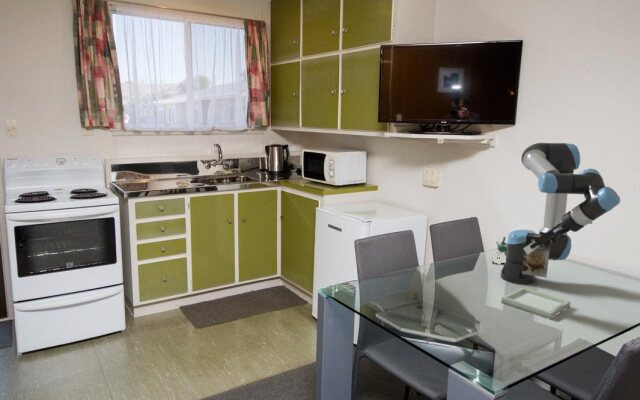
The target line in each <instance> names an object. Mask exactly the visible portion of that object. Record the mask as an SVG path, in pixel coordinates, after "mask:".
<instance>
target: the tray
mask: <svg viewBox="0 0 640 400" xmlns="http://www.w3.org/2000/svg"><path fill="white" fill-rule="evenodd" d="M500 303H501V304H503V305H505V306H506V305H507V306H509V307H512V308H515V309H518V310H521V311H524V312H526V311H527V313H529V312H530V314H532V313H534V314H533V315H535V314H537V315H536V316H538V315H540V316H539V317H541V316H543V317H542V318H544V317H546V318H545V319H547V318H549V319H548V320H551V318H552V317H553V316H555V315H556V314H557V313H559V312H561V311H563V310H564V309H566V308H568V307H570V308H571V301H569V300H567V299H563V298H561V297H560V298H559V297H556V296H554V295H550V294H547V293H543V292H540V291H537V290H533V289H531V288H528V287H520V288H518V289H516V290H514V291H512V292H510V293H507V294H506V295H503V296H502V297H501V301H500ZM568 309H569V308H568ZM566 310H567V309H566ZM563 312H564V311H563ZM561 313H562V312H561ZM555 317H556V316H555ZM553 318H554V317H553ZM553 318H552V319H553Z"/></svg>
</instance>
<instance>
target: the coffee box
mask: <svg viewBox="0 0 640 400" xmlns="http://www.w3.org/2000/svg"><path fill="white" fill-rule="evenodd" d="M535 233H536V232H535ZM535 233H527V236H526V244H525V247H526V246H528V245H529V244H531V243H532V242H534V239H535V238H536V239H537V238H539V237H540V236H542V234H539V233H536V234H535ZM550 244H551V239H550V240H548V241H547V242H545V243H543V244H542V245H541V246H540V247H538V248H537V249H535V250H534V251H532V252H531V253H529V254H527V253H526V252H525V253H524V262H523V270H522V274H528V275H534V276H535V277H541V278H547V275H548V267H549V261H550V260H549V252H550Z"/></svg>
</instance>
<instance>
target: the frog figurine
mask: <svg viewBox="0 0 640 400" xmlns="http://www.w3.org/2000/svg"><path fill="white" fill-rule="evenodd" d="M495 243H496V246H497V252H496V254H497V256H499V255H502V253H504V255H505V256H506V254H507V243H506V237H505V236H503V239H502V241H501V242H499V241H496V242H495ZM498 252H499V253H498ZM497 259H498V257H497ZM499 259H500V257H499Z"/></svg>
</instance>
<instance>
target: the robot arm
mask: <svg viewBox="0 0 640 400" xmlns="http://www.w3.org/2000/svg"><path fill="white" fill-rule="evenodd" d="M520 160H521V163H522V166H524V167H525V169H527V170H528V171H531V172H532V173H533V174H534V176H536V178H537V179H538V181H537V187H538V190H539V192H540V193H543V194H544V193H545V194H546V195H545V206H544V207H545V208H544V219H543V226H542V228H540V229H539V233H538V234H542V236H540V237H539V238H537V239H536V238H535V239H534V242H532V243H531V244H529V245H528V246H526V247H525V244H526V236H527V233H535V234H537V233H536V231H534V230H530V229H517V230H516V229H515V230H513V231H511V232H509V233H508V237H507V241H506V242H507V243H506V244H507V254H506V255H505V256H506V262H505V263H504V264H503V267H502V268H501V271H500V278H501V279H502V280H504V281H506V282H509V283H513V284H517V285H518V284H519V285H529V284H533V283H535V282H536V281H535V280H536V276H534V275H528V274H522V270H523V262H524V253H525V252H526V253H527V254H529V253H531V252H532V251H534V250H535V249H537V248H538V247H540V246H541V245H542V244H543V243H545V242H547V241H548V240H550V239H551V244H550V252H549V261H565V260H566V259H567V258H568V257H569V255H570V253H571V249H572V239H571V236H569V235H568V232H570V231H571V232H574V233H576V232H578V231H580V230H581V229H584V227H585V226H587V225H589V224H590V225H592V224H593V221H596V220H597V219H599V218H600V217H601V216H603V215H605V214H607V212H610V211H612V210H614V208H615V207H617V206H618V205H619V204H620V203H621V197H620V196H619V195H618V192H617V191H615V189H613V188H612V187H610V186H606V184H605V181H604V178H603V176H602V175H601V172H599V171H598V170H597V169H595V168H587V169H584V170H581V171H580V172H579V173H574V172H575V171H576V170H578V169H579V167H580V164H581V154H580V150H579V148H578V146H577V145H575V144H573V143H568V142H567V143H565V142H564V143H563V142H554V143H553V142H538V143H533V144H531V145H529V146H528V147H526V148H525V149H524V151H523V152H522V154H521V159H520ZM568 195H583V197H584V201H582V202H581V203H579V204H578V205H576V206H574V207H573V208H572V209H571V210H569V211H567V204H568V203H567V202H568ZM534 281H535V282H534Z"/></svg>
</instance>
